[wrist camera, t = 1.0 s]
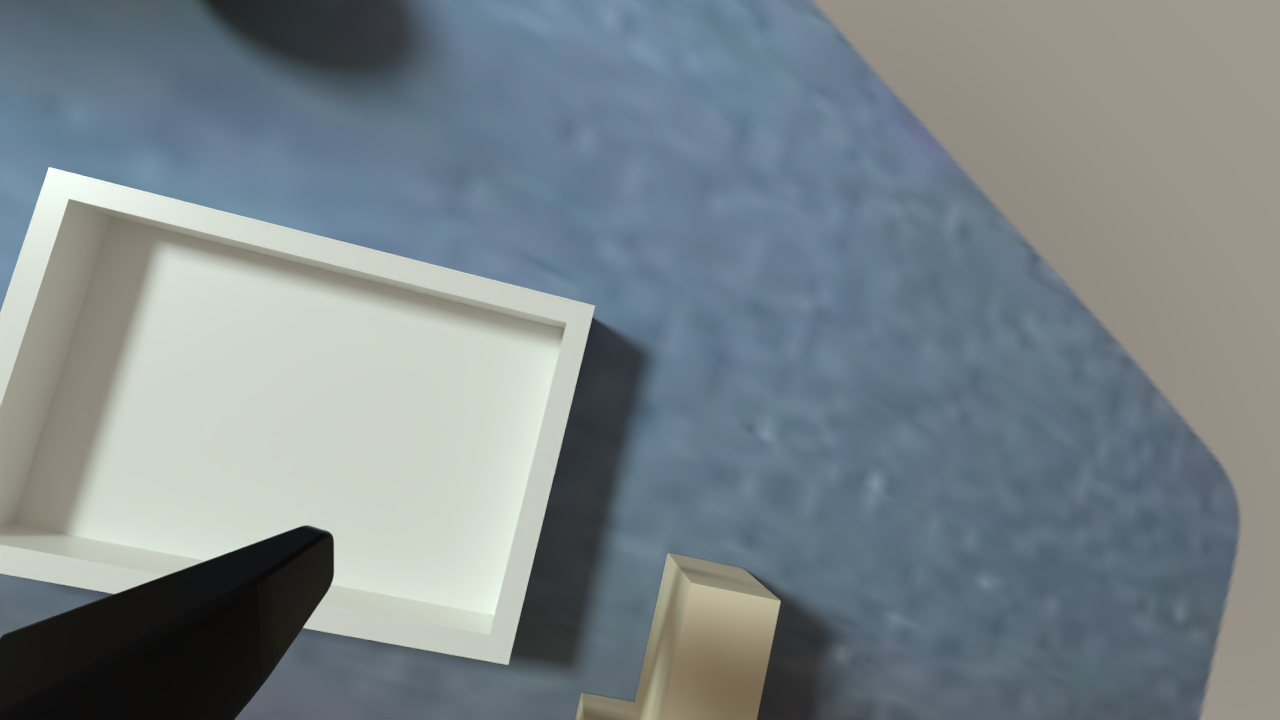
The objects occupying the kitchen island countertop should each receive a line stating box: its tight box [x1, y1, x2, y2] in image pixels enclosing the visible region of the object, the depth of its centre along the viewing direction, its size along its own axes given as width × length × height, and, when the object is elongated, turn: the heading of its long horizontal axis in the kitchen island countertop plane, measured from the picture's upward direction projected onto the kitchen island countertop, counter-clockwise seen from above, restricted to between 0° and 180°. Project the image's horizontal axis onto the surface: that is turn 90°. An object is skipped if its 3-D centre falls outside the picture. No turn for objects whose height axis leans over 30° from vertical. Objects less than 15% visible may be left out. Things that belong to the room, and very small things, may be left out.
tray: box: [0, 167, 595, 665], centre depth 21 cm, size 17×12×2 cm
